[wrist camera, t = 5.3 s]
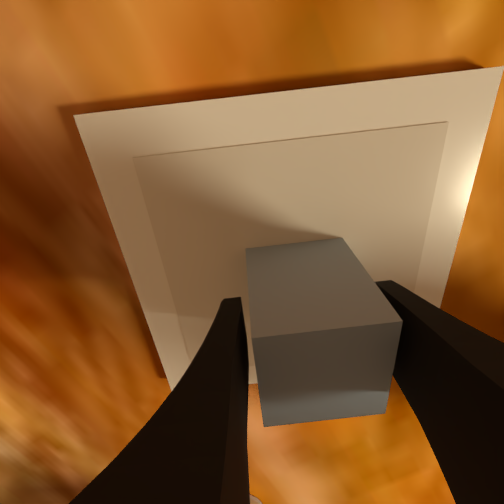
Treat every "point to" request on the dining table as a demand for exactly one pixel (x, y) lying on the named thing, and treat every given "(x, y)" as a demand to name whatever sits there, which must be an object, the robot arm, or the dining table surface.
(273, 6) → the dining table surface
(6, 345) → the dining table surface
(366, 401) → the block
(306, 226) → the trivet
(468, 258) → the dining table surface
